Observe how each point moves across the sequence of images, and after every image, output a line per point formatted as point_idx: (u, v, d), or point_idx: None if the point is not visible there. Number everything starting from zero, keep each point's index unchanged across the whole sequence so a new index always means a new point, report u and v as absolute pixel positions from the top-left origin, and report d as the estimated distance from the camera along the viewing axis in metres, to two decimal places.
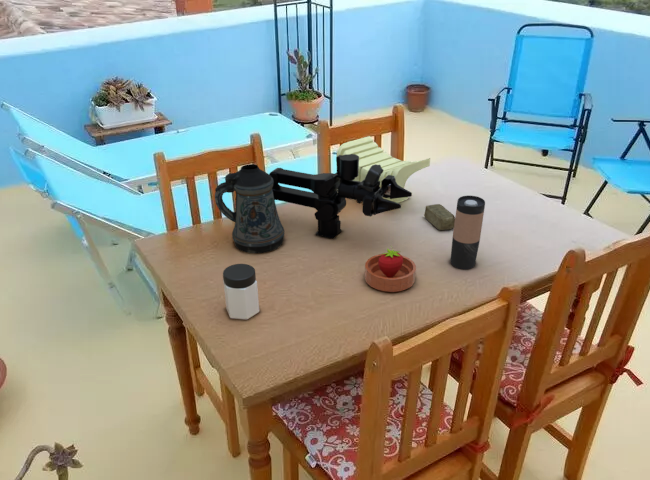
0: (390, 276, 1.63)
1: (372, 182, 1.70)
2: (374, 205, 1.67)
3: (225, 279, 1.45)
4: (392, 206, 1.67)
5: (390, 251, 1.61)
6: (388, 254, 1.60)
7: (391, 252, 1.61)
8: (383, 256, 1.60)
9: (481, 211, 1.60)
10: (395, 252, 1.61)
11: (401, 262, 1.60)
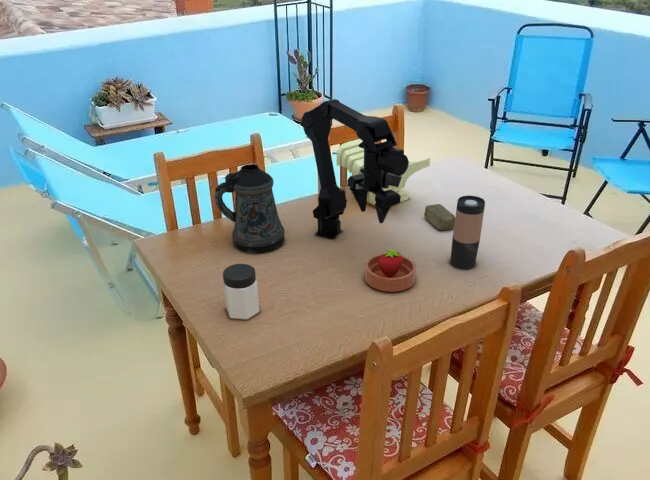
0: (390, 276, 1.63)
1: (391, 184, 1.64)
2: None
3: (225, 279, 1.45)
4: (382, 217, 1.64)
5: (390, 251, 1.61)
6: (388, 254, 1.60)
7: (391, 252, 1.61)
8: (383, 256, 1.60)
9: (481, 211, 1.60)
10: (395, 252, 1.61)
11: (401, 262, 1.60)
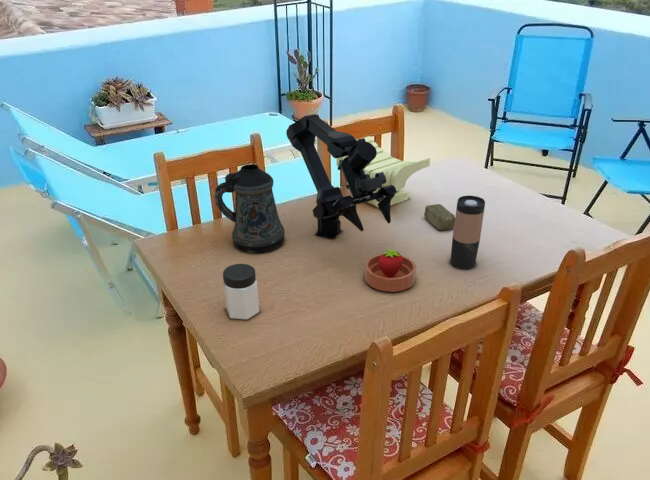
0: (390, 276, 1.63)
1: (362, 189, 1.60)
2: (343, 211, 1.61)
3: (225, 279, 1.45)
4: (356, 224, 1.61)
5: (390, 251, 1.61)
6: (388, 254, 1.60)
7: (391, 252, 1.61)
8: (383, 256, 1.60)
9: (481, 211, 1.60)
10: (395, 252, 1.61)
11: (401, 262, 1.60)
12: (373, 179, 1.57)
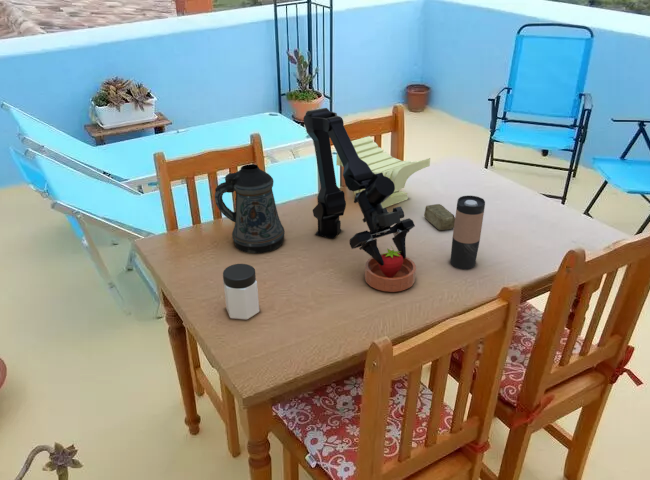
0: (390, 276, 1.63)
1: (380, 224, 1.57)
2: (363, 245, 1.58)
3: (225, 279, 1.45)
4: (377, 258, 1.59)
5: (390, 251, 1.61)
6: (388, 254, 1.60)
7: (391, 252, 1.61)
8: (383, 256, 1.60)
9: (481, 211, 1.60)
10: (395, 252, 1.61)
11: (401, 262, 1.60)
12: (391, 214, 1.54)
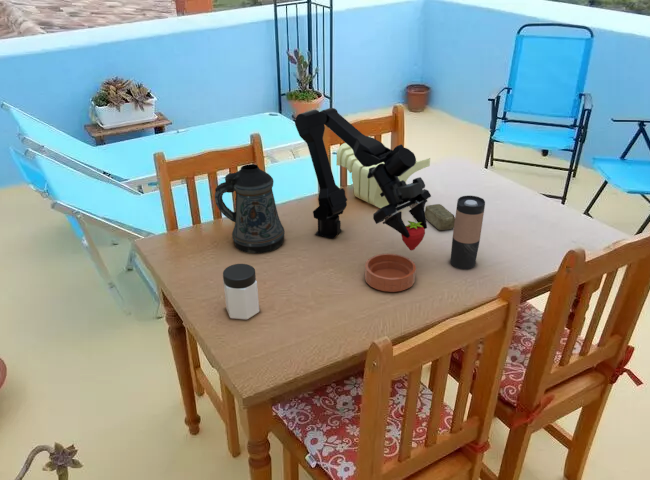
0: (413, 248, 1.64)
1: (403, 197, 1.57)
2: (388, 219, 1.58)
3: (225, 279, 1.45)
4: (402, 231, 1.59)
5: (412, 223, 1.62)
6: (412, 226, 1.60)
7: (413, 224, 1.62)
8: None
9: (481, 211, 1.60)
10: (417, 223, 1.62)
11: (424, 232, 1.62)
12: (415, 185, 1.55)
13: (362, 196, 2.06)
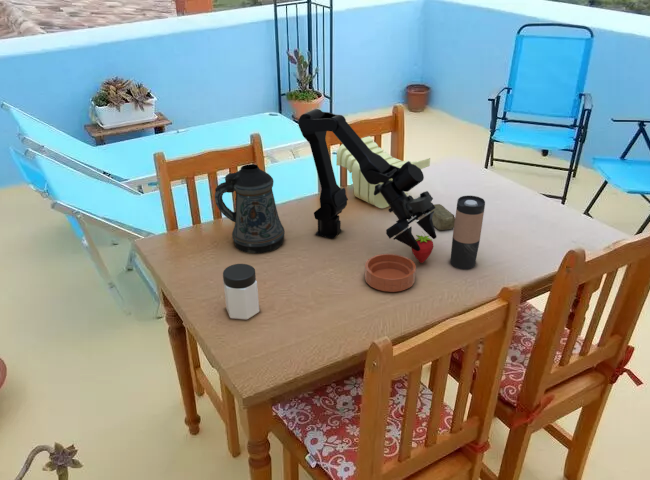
0: (423, 260, 1.71)
1: (414, 211, 1.63)
2: (399, 234, 1.63)
3: (225, 279, 1.45)
4: (412, 245, 1.65)
5: (421, 237, 1.69)
6: (421, 240, 1.68)
7: (422, 237, 1.69)
8: (417, 242, 1.68)
9: (481, 211, 1.60)
10: (426, 237, 1.69)
11: None
12: (425, 199, 1.62)
13: (362, 196, 2.06)
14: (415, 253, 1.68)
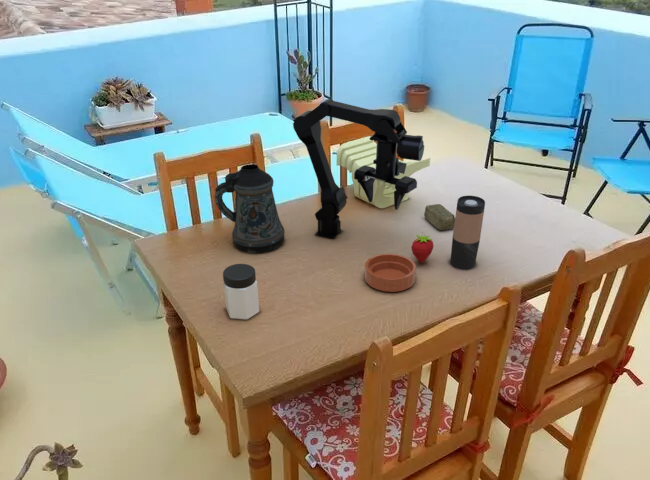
0: (423, 260, 1.71)
1: (400, 171, 1.73)
2: None
3: (225, 279, 1.45)
4: (399, 203, 1.72)
5: (421, 237, 1.69)
6: (421, 240, 1.68)
7: (422, 237, 1.69)
8: (417, 242, 1.68)
9: (481, 211, 1.60)
10: (426, 237, 1.69)
11: None
12: None
13: (362, 196, 2.06)
14: (415, 253, 1.68)
